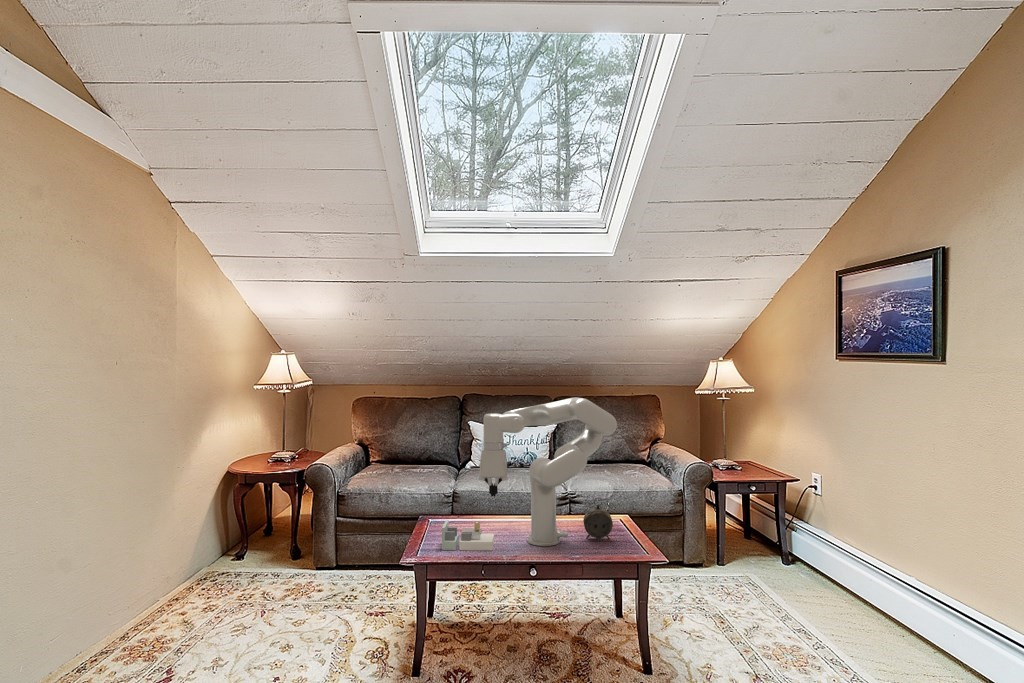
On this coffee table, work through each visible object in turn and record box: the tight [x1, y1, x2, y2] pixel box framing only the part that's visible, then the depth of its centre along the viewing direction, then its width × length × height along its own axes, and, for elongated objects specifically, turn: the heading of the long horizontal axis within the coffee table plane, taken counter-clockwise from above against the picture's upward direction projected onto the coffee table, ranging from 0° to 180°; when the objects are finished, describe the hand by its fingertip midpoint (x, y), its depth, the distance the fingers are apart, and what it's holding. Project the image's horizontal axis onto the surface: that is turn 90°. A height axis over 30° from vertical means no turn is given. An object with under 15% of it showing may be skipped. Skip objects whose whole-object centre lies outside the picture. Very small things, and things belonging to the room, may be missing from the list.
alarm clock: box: [583, 497, 614, 542], centre depth 216 cm, size 11×5×16 cm, turn 87°
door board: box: [458, 527, 495, 551], centre depth 209 cm, size 12×10×6 cm
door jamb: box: [441, 520, 460, 551], centre depth 210 cm, size 5×10×8 cm, turn 178°
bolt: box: [461, 521, 482, 539], centre depth 209 cm, size 7×4×6 cm, turn 88°
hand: (493, 495), depth 210 cm, fingers closed
